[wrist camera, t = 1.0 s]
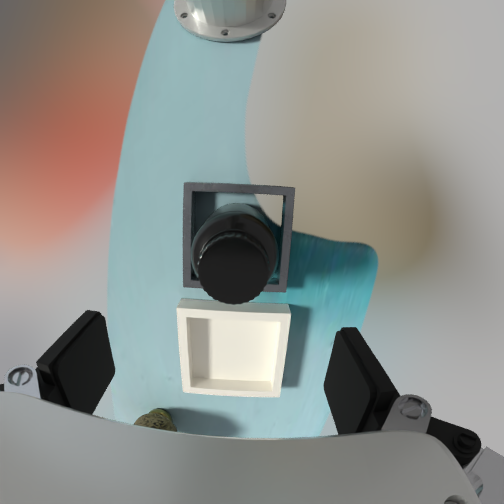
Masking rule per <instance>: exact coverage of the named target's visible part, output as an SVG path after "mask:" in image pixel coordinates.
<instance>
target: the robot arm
mask: <svg viewBox="0 0 504 504" xmlns="http://www.w3.org/2000/svg"><path fill="white" fill-rule="evenodd" d="M285 6H286V0H174V10H175V14H176V17H177V19H178V21H179V22H180V24H181V25H182V26H183V27H184V28H185V29H186V30H187V31H188V32H190V33H192V34H194V35H195V36H197V37H200V38H203V39H206V40H212V41H221V42H231V41H240V40H245V39H249V38H252V37H255V36H258V35H260V34H262V33H264V32H266V31H268V30H269V29H270V28H272V27H273V26H274V25H275V24H276V23H277V22H278V21H279V20H280V19H281V17H282V15H283V13H284V10H285ZM224 35H226V36H224ZM36 363H37V366H38V367H37V368H36V369H34V368H33V367H32V366H29V365H18V366H14V367H13V368H11V369H10V370H8V371H7V373H6V374H5V377H4V384H0V504H504V457H503V456H501V455H500V454H498V453H496V452H495V451H493V450H491V449H490V448H488V447H486V448H485V449H483V448H481V441H480V438H479V437H478V436H477V434H476V433H474V432H473V431H471V430H468V429H465V428H462V427H459V426H456V425H454V424H451V423H448V422H445V421H442V420H439V419H436V418H434V417H431V413H432V409H431V406H430V404H429V403H428V402H427V401H426V400H425V399H423V398H421V397H419V396H417V395H402V396H400V395H399V393H398V391H397V390H396V388H395V386H394V385H393V383H392V382H391V380H390V378H389V377H388V375H387V374H386V372H385V371H384V369H383V367H382V366H381V364H380V363H379V361H378V360H377V359H376V357H375V355H374V354H373V353H372V351H371V349H370V348H369V346H368V345H367V343H366V342H365V340H364V338H363V337H362V335H361V334H360V332H359V331H358V329H357V328H356V327H343V328H341V330H340V331H337V332H336V335H335V340H334V344H333V349H332V353H331V357H330V361H329V365H328V369H327V373H326V377H325V381H324V391H325V394H326V397H327V401H328V404H329V407H330V410H331V413H332V416H333V419H334V422H335V425H336V428H337V431H338V435H331V436H318V437H299V438H238V437H220V436H208V435H198V434H189V433H181V432H173V431H166V430H160V429H154V428H149V427H143V426H138V425H133V424H128V423H124V422H119V421H115V420H111V419H106V418H103V417H99V416H95V415H92V414H93V412H94V410H95V409H96V407H97V405H98V403H99V401H100V399H101V398H102V396H103V394H104V392H105V391H106V389H107V387H108V385H109V384H110V382H111V380H112V378H113V377H114V374H115V366H114V361H113V357H112V352H111V347H110V343H109V337H108V332H107V327H106V321H105V317H104V316H102V315H101V313H100V312H97V311H90V310H87V311H85V313H83V314H82V315H81V316H80V317H79V318H78V319H77V320H76V321H75V322H74V324H72V325H71V326H70V327H69V328H68V329H67V330H66V331H65V332H64V333H63V334H62V336H60V337H59V339H58V340H57V341H56V342H55V343H54V344H53V345H52V346H51V347H50V348H49V349H48V350H47V351H46V352H45V353H44V354H43V355H42V356H41V357H40V359H38V361H37V362H36Z"/></svg>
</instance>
